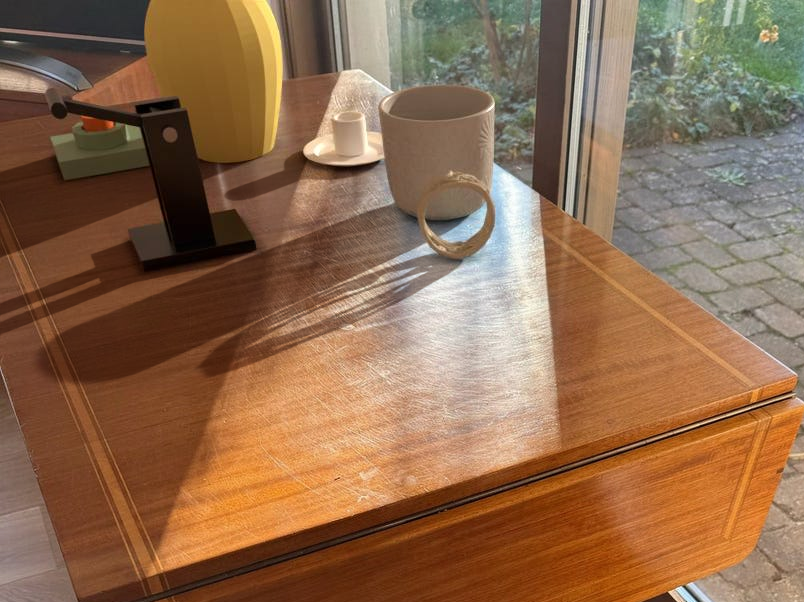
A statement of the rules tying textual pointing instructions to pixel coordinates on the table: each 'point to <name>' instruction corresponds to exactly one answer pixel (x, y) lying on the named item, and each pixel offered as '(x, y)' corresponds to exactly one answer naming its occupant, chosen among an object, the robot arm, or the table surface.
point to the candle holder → (346, 143)
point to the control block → (99, 150)
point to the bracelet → (459, 248)
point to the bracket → (181, 197)
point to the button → (96, 124)
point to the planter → (437, 145)
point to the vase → (219, 72)
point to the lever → (91, 110)
